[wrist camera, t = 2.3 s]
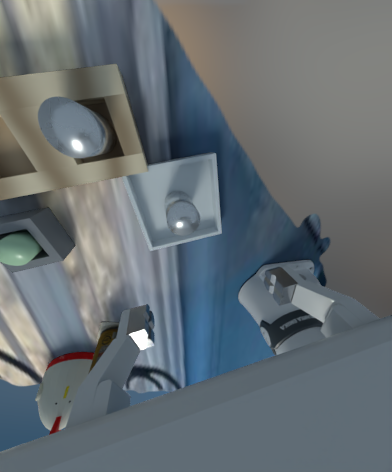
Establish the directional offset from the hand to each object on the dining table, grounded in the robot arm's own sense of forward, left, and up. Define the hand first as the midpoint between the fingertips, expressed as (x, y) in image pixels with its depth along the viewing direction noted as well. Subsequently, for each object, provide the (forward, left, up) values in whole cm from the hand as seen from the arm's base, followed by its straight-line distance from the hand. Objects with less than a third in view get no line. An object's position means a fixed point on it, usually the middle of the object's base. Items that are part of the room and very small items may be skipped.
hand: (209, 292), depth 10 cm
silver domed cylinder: (+8, -11, -18) cm, 23 cm away
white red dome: (+37, +40, -19) cm, 58 cm away
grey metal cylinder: (0, 0, -19) cm, 19 cm away
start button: (+22, 0, -17) cm, 28 cm away
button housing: (+22, 0, -19) cm, 29 cm away
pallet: (+13, -11, -19) cm, 26 cm away
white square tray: (0, 0, -19) cm, 19 cm away
